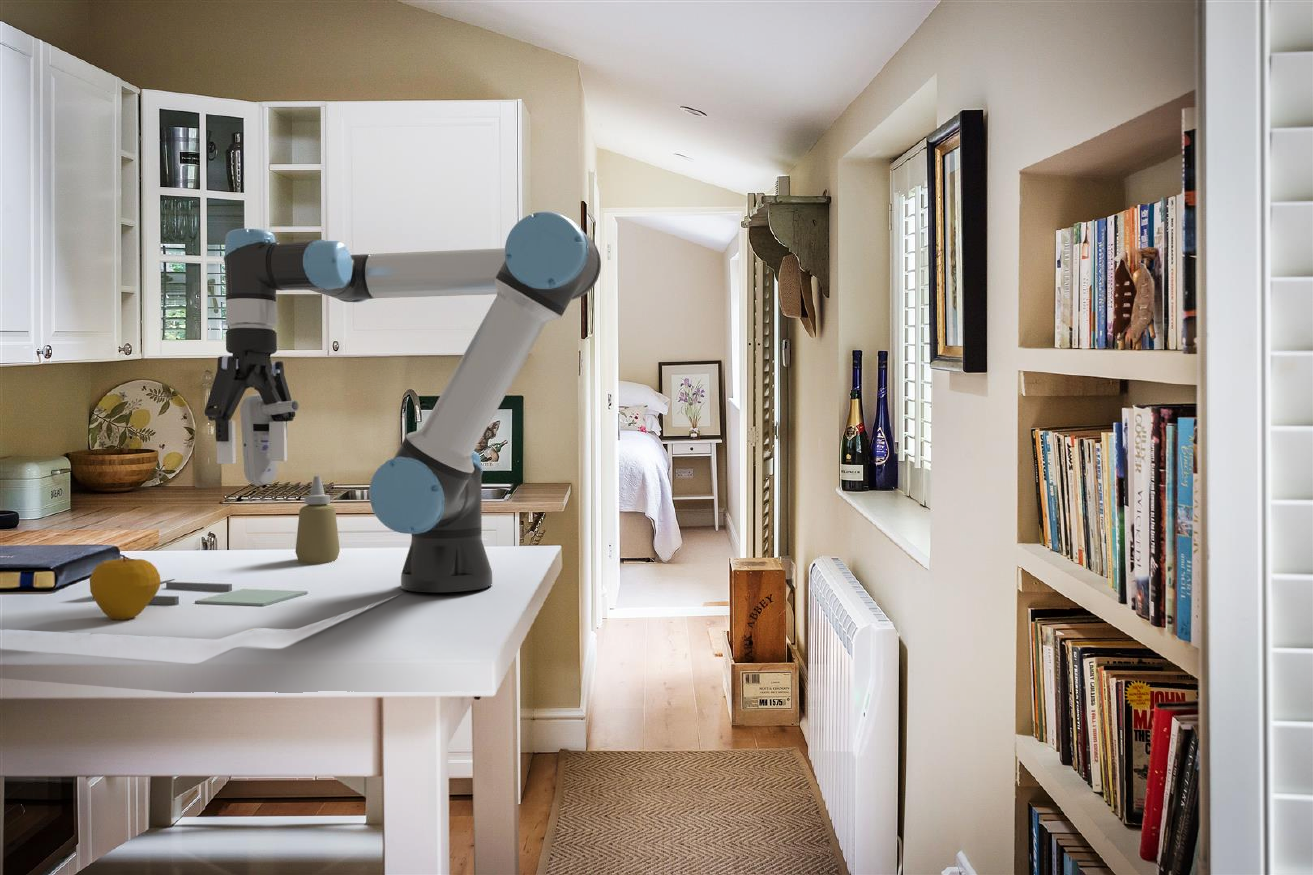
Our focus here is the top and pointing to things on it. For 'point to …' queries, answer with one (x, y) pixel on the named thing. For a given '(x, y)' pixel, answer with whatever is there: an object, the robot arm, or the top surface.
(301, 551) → the squeeze bottle
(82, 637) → the top surface
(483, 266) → the robot arm
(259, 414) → the electronic device
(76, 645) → the top surface
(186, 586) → the dock
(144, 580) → the apple
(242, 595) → the mat
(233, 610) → the top surface
